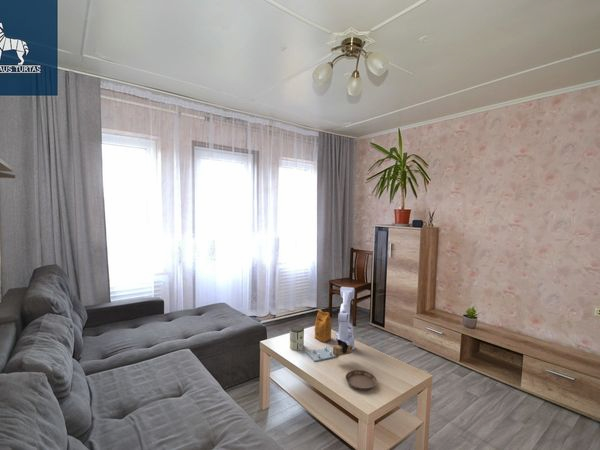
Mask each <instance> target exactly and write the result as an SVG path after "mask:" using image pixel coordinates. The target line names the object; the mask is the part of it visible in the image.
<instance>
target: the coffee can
mask: <svg viewBox="0 0 600 450" xmlns="http://www.w3.org/2000/svg"><path fill="white" fill-rule="evenodd" d="M304 335H305V327H304V326H302V325H300V324H299V325H296V324H295V325H291V326H290V327H289V349H290V350H292V351H300V350H301V351H302V350H303V349H304V348H305V347H304V346H305V344H304V343H305V342H304V341H305V340H304V337H305V336H304Z"/></svg>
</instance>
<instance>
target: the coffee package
mask: <svg viewBox="0 0 600 450" xmlns="http://www.w3.org/2000/svg"><path fill="white" fill-rule="evenodd" d="M330 315H331V313H330V312H327V311H323V310H321V309H318V311H317V315H316V319H315V323H314V324H315V326H314V339H317V340H318V341H319V342H322V343H326V342H328V341H330V340H331V339H332V323H333V322H332V319H331V316H330Z"/></svg>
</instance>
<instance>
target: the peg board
mask: <svg viewBox="0 0 600 450" xmlns="http://www.w3.org/2000/svg"><path fill="white" fill-rule="evenodd" d="M306 354H307V355H308V356H309V358H310V359H311V360H312V361H313V362H314V363H315V362H316V363H317V362H321V361H325V360H330V359H335V358H338V357H339V356H337V357H336V356H335V355H334V354H333V349H332V348H331V347H328V346H327V345H326V346H324V348H319V349H316V348H314V347H313V349H312V350H310V351H306Z"/></svg>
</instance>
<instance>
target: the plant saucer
mask: <svg viewBox="0 0 600 450" xmlns="http://www.w3.org/2000/svg"><path fill="white" fill-rule="evenodd" d="M345 381H346V383H347V384H348V385H349V386H350V387H351V388H353V389H354V390H357V391H364V392H365V391H370V390H372V389H373V388H374V387H375V386H376V385H377V383H378V381H377V377H375V375H374V374H373V373H371V372H369V371H367V370H366V371H365V370H363V369H362V370H361V369H354V370H350V371H347V373H346V374H345Z"/></svg>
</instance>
